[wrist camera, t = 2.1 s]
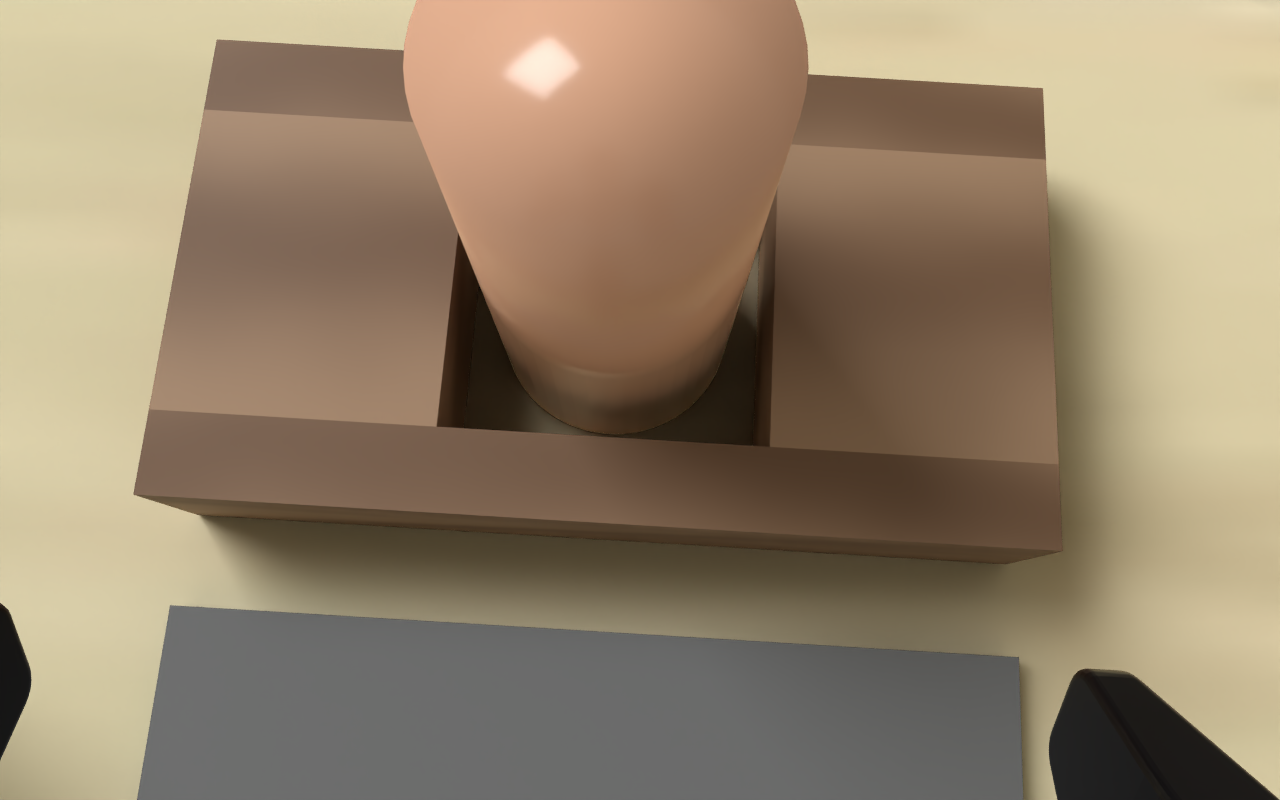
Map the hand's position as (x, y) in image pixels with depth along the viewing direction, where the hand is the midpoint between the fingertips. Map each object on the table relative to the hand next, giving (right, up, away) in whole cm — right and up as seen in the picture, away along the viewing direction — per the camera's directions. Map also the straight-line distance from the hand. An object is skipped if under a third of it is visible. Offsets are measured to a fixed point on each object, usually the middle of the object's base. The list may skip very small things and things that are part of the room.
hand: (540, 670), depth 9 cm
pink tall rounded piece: (0, +4, +15) cm, 16 cm away
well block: (0, +4, +15) cm, 16 cm away
